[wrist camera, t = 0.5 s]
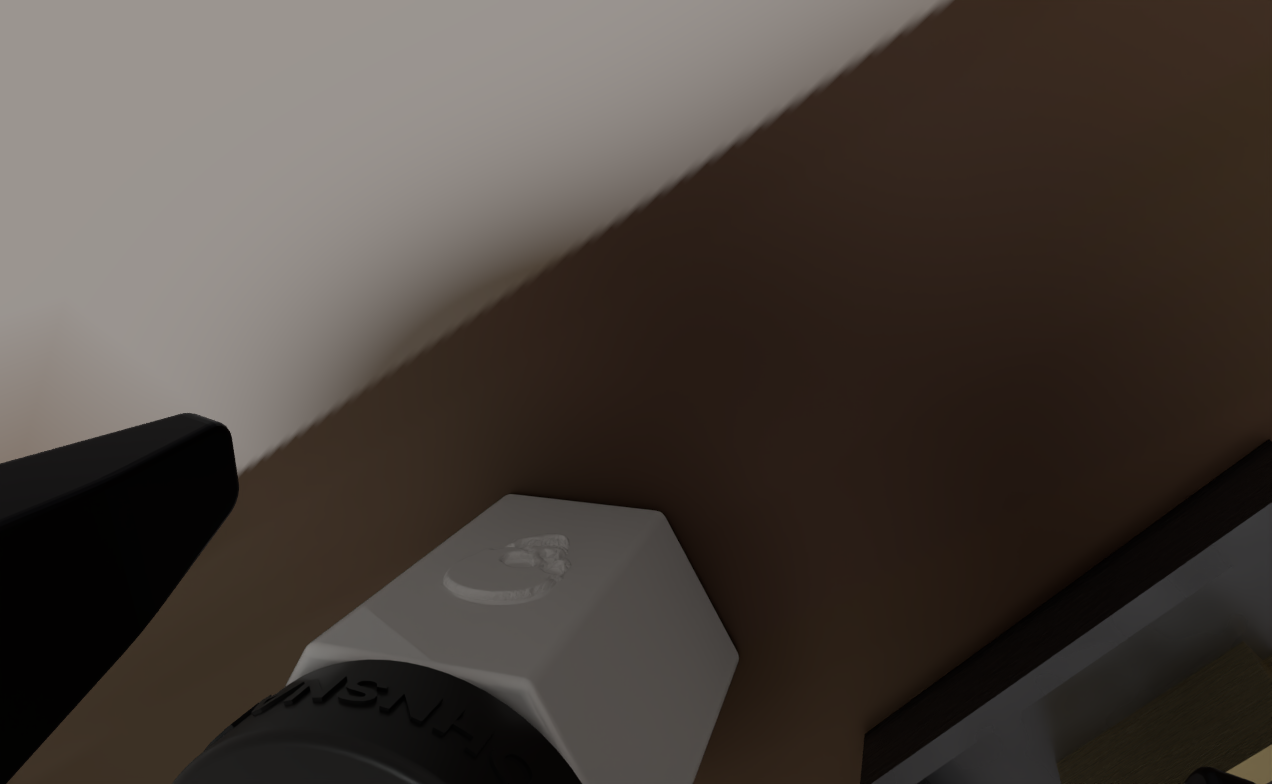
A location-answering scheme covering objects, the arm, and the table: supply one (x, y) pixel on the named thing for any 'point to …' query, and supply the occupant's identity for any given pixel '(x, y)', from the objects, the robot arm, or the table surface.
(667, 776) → the jar
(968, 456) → the table surface
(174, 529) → the robot arm
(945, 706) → the gray square tray
